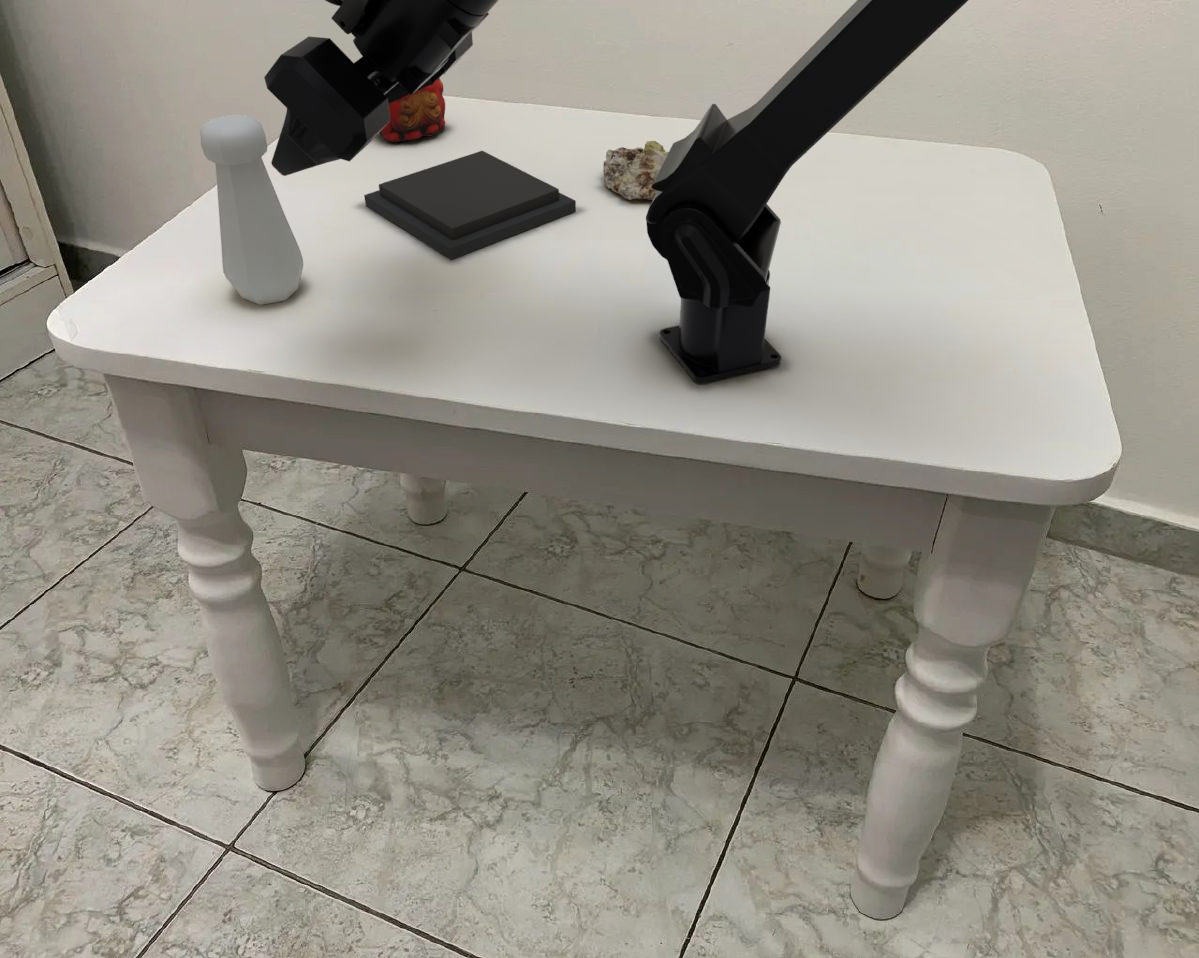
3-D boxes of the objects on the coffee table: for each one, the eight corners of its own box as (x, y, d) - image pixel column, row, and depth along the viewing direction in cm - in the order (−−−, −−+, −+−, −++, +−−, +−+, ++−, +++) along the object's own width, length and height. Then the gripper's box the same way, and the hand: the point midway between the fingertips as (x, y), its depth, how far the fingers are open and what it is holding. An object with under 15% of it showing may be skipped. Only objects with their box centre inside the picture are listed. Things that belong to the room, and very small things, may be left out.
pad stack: (576, 211, 86) (575, 189, 85) (451, 259, 80) (449, 236, 79) (486, 165, 94) (484, 144, 93) (365, 205, 87) (361, 183, 86)
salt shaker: (216, 290, 76) (168, 120, 68) (282, 264, 79) (244, 99, 71) (256, 319, 73) (211, 144, 65) (323, 290, 76) (289, 120, 68)
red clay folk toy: (396, 152, 96) (373, -17, 86) (356, 131, 100) (330, -33, 90) (460, 131, 100) (445, -33, 90) (420, 112, 104) (401, -47, 94)
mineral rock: (586, 173, 87) (614, 117, 91) (589, 213, 90) (617, 156, 94) (707, 195, 84) (731, 135, 88) (705, 234, 88) (728, 175, 92)
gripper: (409, -171, 62) (283, 5, 71) (260, -112, 48) (128, 97, 58) (535, -24, 66) (400, 125, 75) (430, 69, 52) (280, 238, 61)
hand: (311, 141), depth 67 cm, fingers open, 9 cm apart
